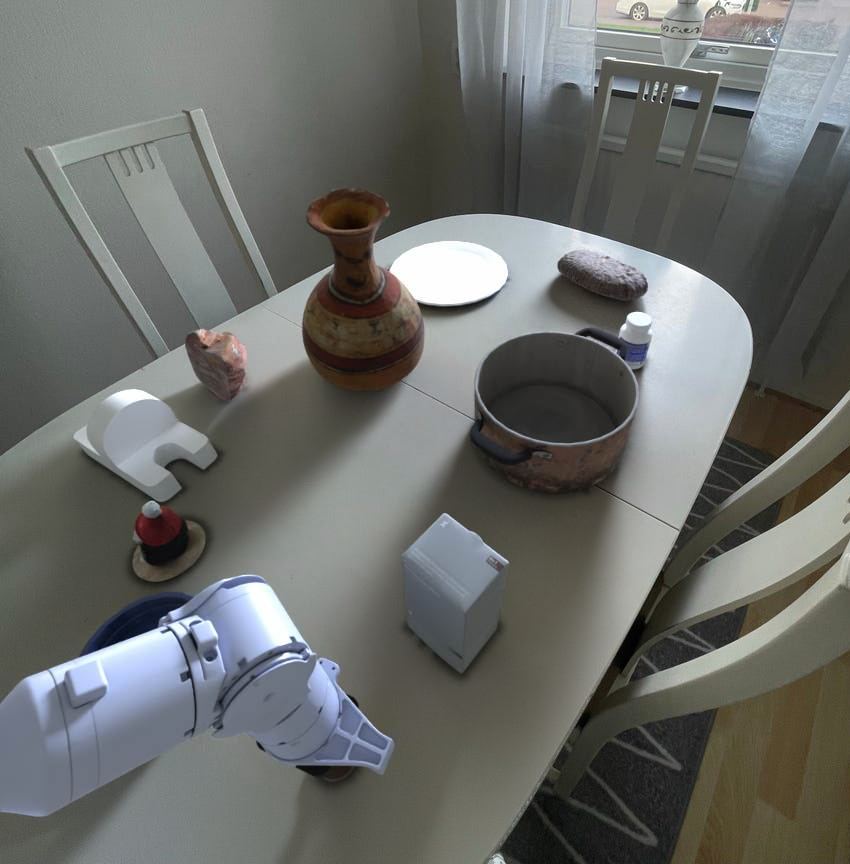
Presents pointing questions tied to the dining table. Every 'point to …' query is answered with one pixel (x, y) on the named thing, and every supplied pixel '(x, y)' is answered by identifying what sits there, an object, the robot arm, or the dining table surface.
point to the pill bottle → (636, 338)
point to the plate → (450, 273)
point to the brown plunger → (339, 773)
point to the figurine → (165, 543)
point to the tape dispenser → (142, 441)
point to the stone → (217, 361)
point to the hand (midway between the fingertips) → (326, 742)
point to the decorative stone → (603, 275)
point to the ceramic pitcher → (359, 300)
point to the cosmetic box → (453, 590)
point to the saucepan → (554, 409)
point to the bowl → (135, 620)
